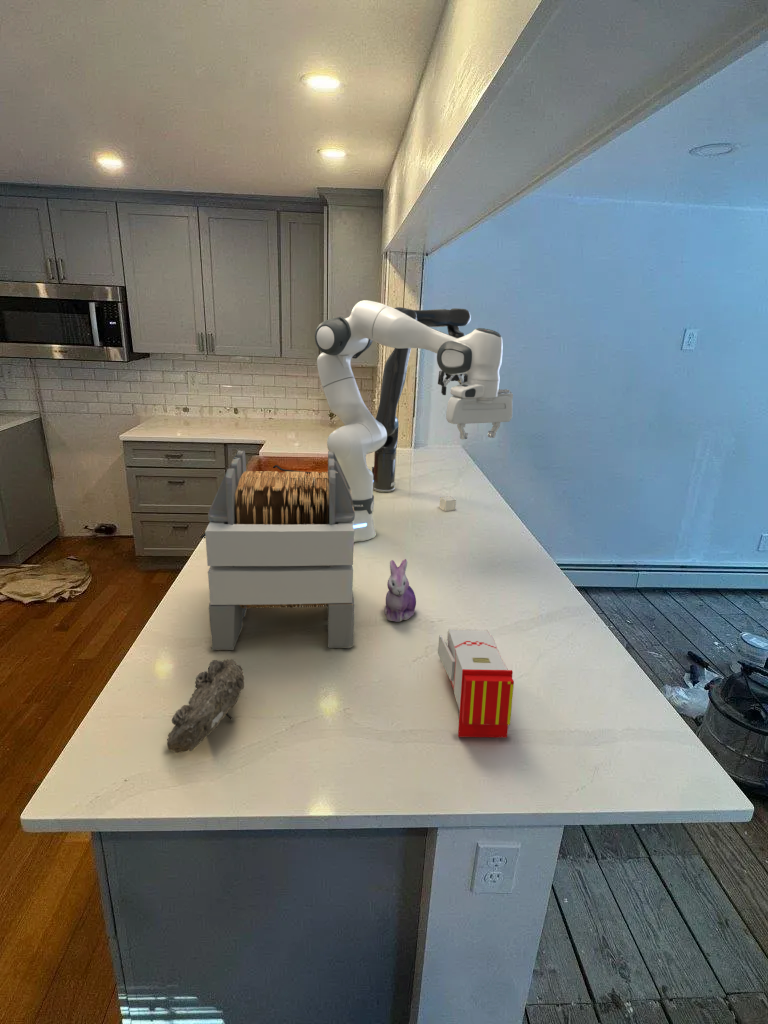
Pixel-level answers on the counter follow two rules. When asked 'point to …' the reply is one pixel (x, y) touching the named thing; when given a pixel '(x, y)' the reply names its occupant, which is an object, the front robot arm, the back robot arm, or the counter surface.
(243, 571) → the grey record crate stand
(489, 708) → the toy
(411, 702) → the counter surface
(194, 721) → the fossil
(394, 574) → the figurine
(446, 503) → the brick
